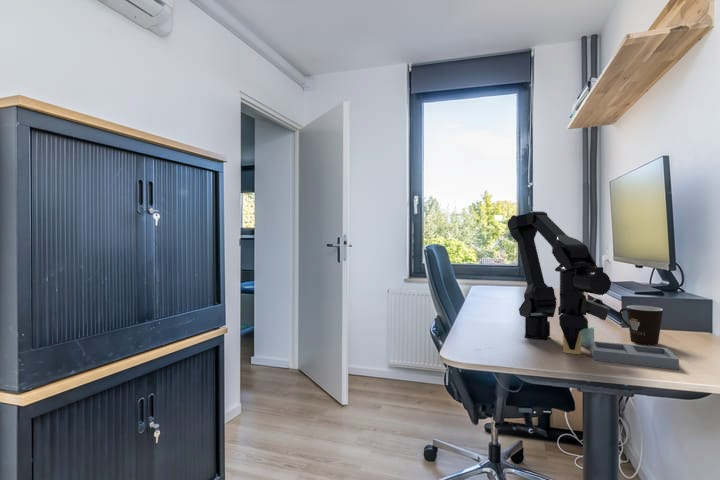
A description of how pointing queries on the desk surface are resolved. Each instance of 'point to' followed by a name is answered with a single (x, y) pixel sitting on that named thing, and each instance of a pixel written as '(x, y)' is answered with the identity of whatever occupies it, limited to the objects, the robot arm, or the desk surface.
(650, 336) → the coffee mug
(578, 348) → the ochre block
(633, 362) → the organizer
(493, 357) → the desk surface
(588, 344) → the teal capsule
